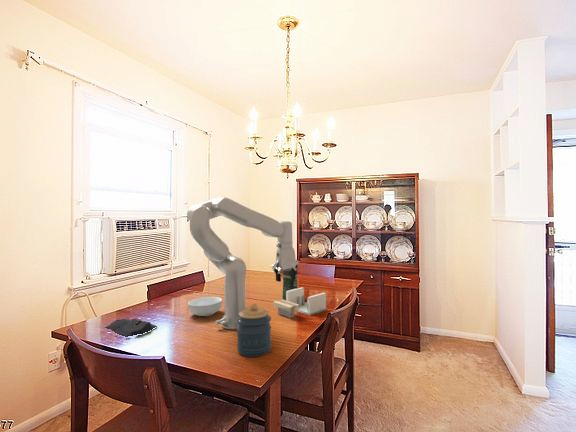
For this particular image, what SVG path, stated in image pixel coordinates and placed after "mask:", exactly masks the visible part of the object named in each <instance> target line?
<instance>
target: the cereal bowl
mask: <svg viewBox="0 0 576 432" xmlns="http://www.w3.org/2000/svg"><path fill="white" fill-rule="evenodd" d="M187 303H188V305H187V306H188V307H187V308H188V310H189V312H190V313H191V314H193V315H195V316H198V317H200V316H207V317H211V316H213V315H214V314H215V313H217V312H218V311H219V310H221V308H222V306H223V299H222V298H221V297H218V296H202V297H197V298H194V299H191V300H189V301H188V302H187Z"/></svg>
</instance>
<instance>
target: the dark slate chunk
mask: <svg viewBox="0 0 576 432" xmlns="http://www.w3.org/2000/svg"><path fill="white" fill-rule="evenodd" d="M155 327H157V328H158V326H157V325H155V324H153V323H151V322H150V321H145V320H144V321H143V320H141V319H136V318H132V319H129V318H122V319H121V318H120V319H116V320H114V321H113V322H111V323H110V324H108V325H107V326H105V327H104V328H107V329H111V330H112V331H114V332H115V333H117V334H119V335H122V336H125V337H128V336H133V335H137V334H143V333H145V332H148V331H150V330H152V329H153V328H155ZM155 329H156V328H155ZM152 331H153V330H152Z"/></svg>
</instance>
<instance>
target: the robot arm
mask: <svg viewBox="0 0 576 432" xmlns="http://www.w3.org/2000/svg"><path fill="white" fill-rule="evenodd" d="M220 216H221V217H224V218H226V219H229V220H230V221H233V222H235V223H236V224H239V225H241V226H244V227H246V228H252V229H255V230H258V231H261V233H262V235H264V236H265V237H271V238H277V244H276V248H277V249H276V252H275V254H276V255H275V261H274V263H272V264H271V268H272V271H273V272H274V274H275V281H276V282H278V283H279V282H280V283H281V282H282V274H281V272H282V271H283V270H286V269H291V270H290V277H291V278H294V279H295V271H296V269H298V266H299V263H300V262H299V260H298V259H297V258H296V253H295V248H294V246H293V223H292V222H291V221H286V220H285V221H278V220H276V219H274V218H272V217H270V216H268V215H265V214H263V213H261V212H258V211H256V210H254V209H251V208H249V207H247V206H245V205H243V204H241V203H239V202H237V201H235V200H233V199H231V198H229V197H225V196H222V197H218V198H214V199H211V200H208V201H205V202H202V203H198V204H195V205H192V206H191V207H190V208H188V210H187V213H186V217H187V219H188V221H189V231H190V235H191V236H192V239H194V241H195V242H196V243H197V245H199V246H200V247H201V249H202V250H203V253H204V256H205V257H206V258H207V259H208V260H209V261H210V262H211V263H212V264H213V265H214V266H215V267H216V268H217V269H218V270H219V271H220V272H221V273H223V274H224V277H225V278H224V285H223V286H224V287H223V288H224V291H223V294H224V315H222V318H221V319H217V320H215V322H214V324H215V326H219V325H220V326H221V327H222V328H223V329H226V330H237V327H238V323H237V318H238V317H240V316H239V312H240V311H242V310H243V309H244V308H246V275H247V265H246V262H245V261H244V260H243V259H242V258H241V257H238V256H236V255H234V254H233V253H231V251H230V249H229V246H228V245H227V243H225V242H224V241H223V240H222V238H220V236H218V235H217V234H216V232H215V231H214V230H213V229H212V228H211V225H210V220H212V219H215V218H218V217H220Z"/></svg>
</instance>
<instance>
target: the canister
mask: <svg viewBox="0 0 576 432" xmlns="http://www.w3.org/2000/svg"><path fill="white" fill-rule="evenodd" d="M269 314H270V313H269V310H268V309H266V308H265V307H264V306H263V307H262V306H258V304H257V303H254V302H253V303H252V304H250V306H248V307H245V308H244V309H243V310H242V311H240V312H239V316H240V317H238V318H237V323H238V327H237V329H236V332H237V344H236V346H237V347H236V348H237V353H239V354H240V355H241V356H243V357H248V358H256V357H261V356H265V355H267V354H268V353H270V351H271V350H272V332H271V331H272V325H271V323H270V322H271V320H272V316H270V315H269Z"/></svg>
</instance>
